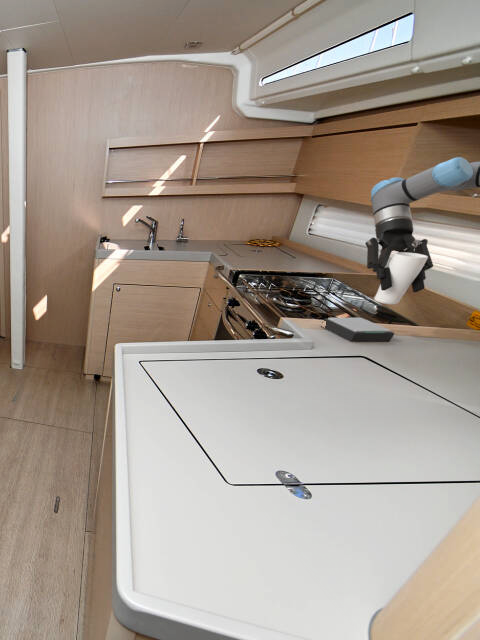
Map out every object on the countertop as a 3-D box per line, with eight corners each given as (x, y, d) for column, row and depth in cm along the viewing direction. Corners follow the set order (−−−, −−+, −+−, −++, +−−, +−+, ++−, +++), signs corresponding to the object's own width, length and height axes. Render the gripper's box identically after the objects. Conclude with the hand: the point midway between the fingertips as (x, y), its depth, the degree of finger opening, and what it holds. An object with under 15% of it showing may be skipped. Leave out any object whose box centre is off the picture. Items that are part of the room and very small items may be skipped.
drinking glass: (372, 303, 110) (398, 256, 103) (367, 296, 115) (391, 251, 108) (404, 307, 107) (432, 258, 100) (397, 300, 112) (424, 253, 105)
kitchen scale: (389, 341, 115) (395, 331, 113) (350, 341, 116) (356, 331, 114) (355, 326, 126) (361, 316, 124) (320, 326, 126) (325, 316, 125)
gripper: (422, 232, 112) (433, 297, 106) (345, 230, 118) (351, 292, 112) (446, 217, 106) (459, 286, 99) (363, 216, 111) (371, 281, 105)
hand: (402, 289), depth 106 cm, fingers closed on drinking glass, 7 cm apart
